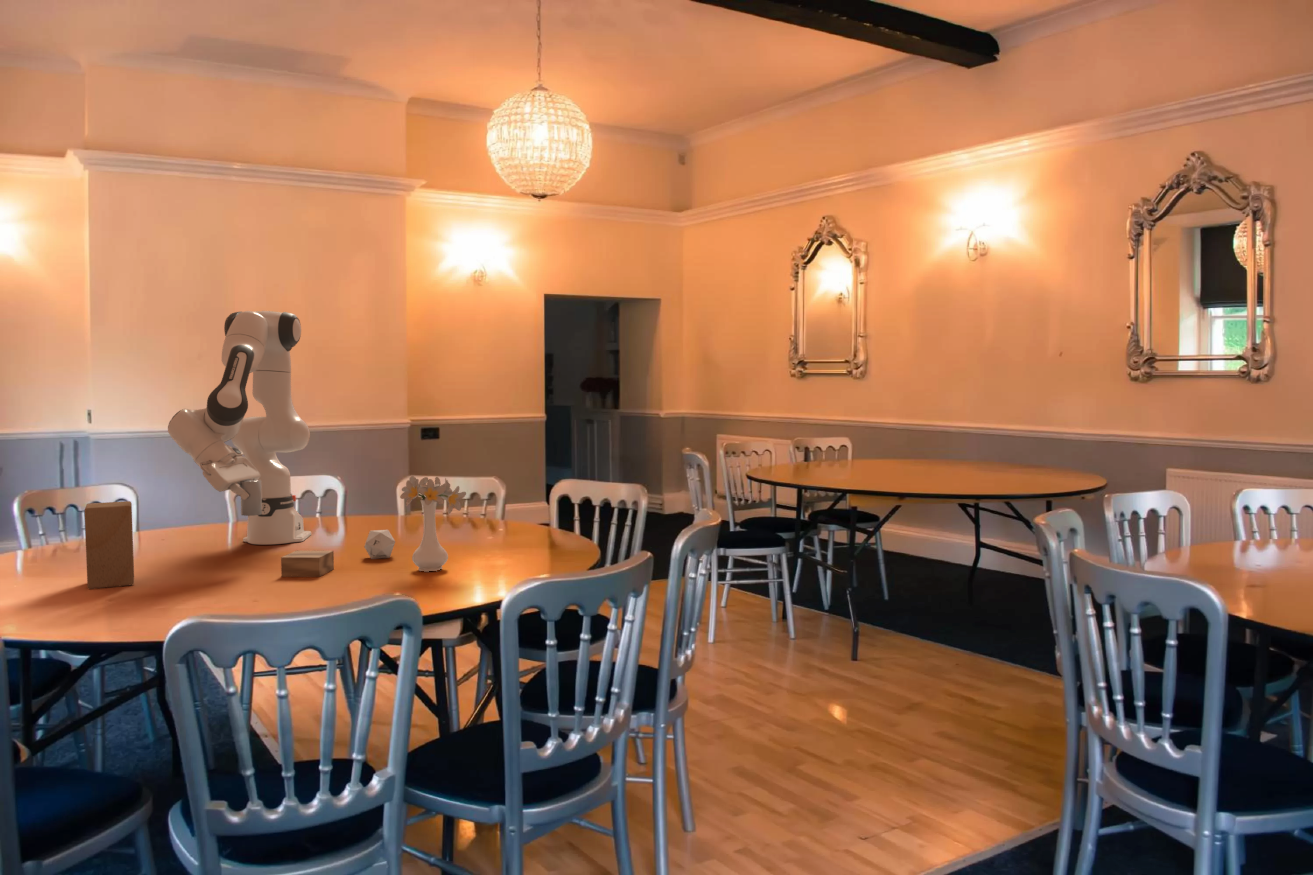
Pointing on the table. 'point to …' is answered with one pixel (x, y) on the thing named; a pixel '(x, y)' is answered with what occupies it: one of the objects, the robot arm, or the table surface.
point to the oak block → (307, 563)
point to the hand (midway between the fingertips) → (253, 496)
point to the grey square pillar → (251, 498)
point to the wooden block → (109, 544)
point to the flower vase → (431, 518)
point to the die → (379, 544)
